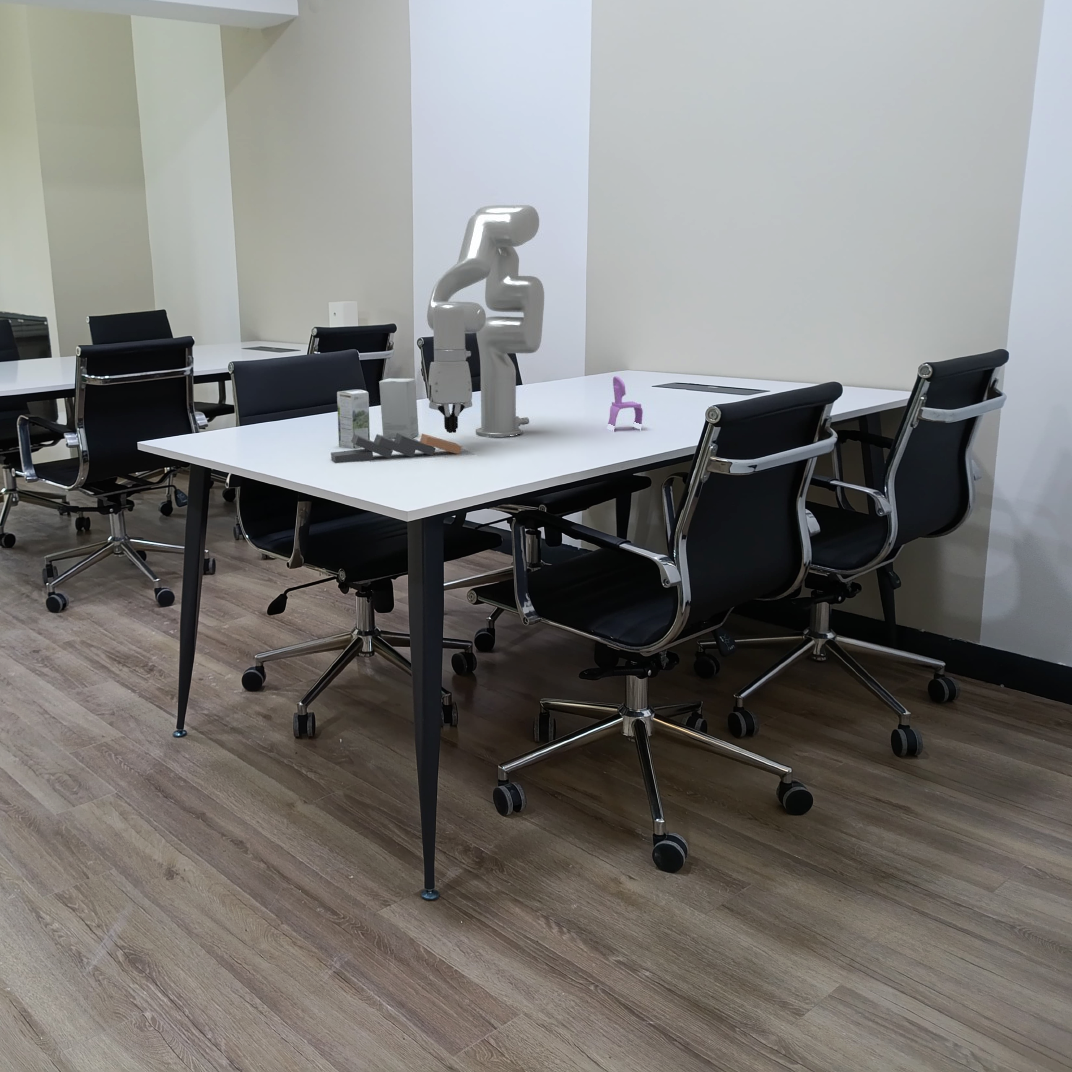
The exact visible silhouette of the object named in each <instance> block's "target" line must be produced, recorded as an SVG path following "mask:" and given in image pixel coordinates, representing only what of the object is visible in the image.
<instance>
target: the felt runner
mask: <svg viewBox="0 0 1072 1072" xmlns="http://www.w3.org/2000/svg"><path fill="white" fill-rule="evenodd" d="M474 455H475V453H473V452H471V451H470V450H468V449H465V448H461V451H460V454H456V453H453V452H449V451H446V450H443V449H442V450H435V453H434V455H433V456H431V455H428V454H426V453H423V452H420V451H415V453H414V456H413V457H410V456H407V455H404V454H402V453H399V452H398V453H392V455H391V457H390V458H387V457H385V456H382V455H380V454H373V460H370V461H369V462H370V463H372V462H373V463H375V462H387V461H388V462H390V461H403V460H404V461H405V460H417V459H418V460H419V459H432V458H446V457H461V456H474Z"/></svg>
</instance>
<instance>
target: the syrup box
mask: <svg viewBox="0 0 1072 1072" xmlns="http://www.w3.org/2000/svg"><path fill="white" fill-rule="evenodd" d="M369 393H370V392H368V391H367V390H363V389H349V390H348V389H347V390H342V391H341V390H340V391H339V390H338V391H337V392H336V402H337V429H338V430H337V431H338V434H337V435H338V447H340V448H347V449H350V450H357V449H362V447H359V446H357V445H355V444H353V443H352V442H351V440H352V438H353V435H354V434H356V435H358V436H361V437H363V438H366V439H368V440H371V438H370V437H371V434H370V433H371V432H370V403H369V402H370V398H369Z"/></svg>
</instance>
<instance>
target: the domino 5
mask: <svg viewBox="0 0 1072 1072" xmlns="http://www.w3.org/2000/svg"><path fill="white" fill-rule="evenodd" d="M419 441H420V442H422V443H424V444H425V445H429V446H432V447H434V448H436V449H440V450H442V451H443V450H446V451H449V452H453V453H456V454H460V451H461V449H463V447H462V446H461V445H460V444H458V443H456V442H452V441H449V440H446V439H442V438H438V437H436V436H432V435H430V434H425V433H421V436H420V440H419Z"/></svg>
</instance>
